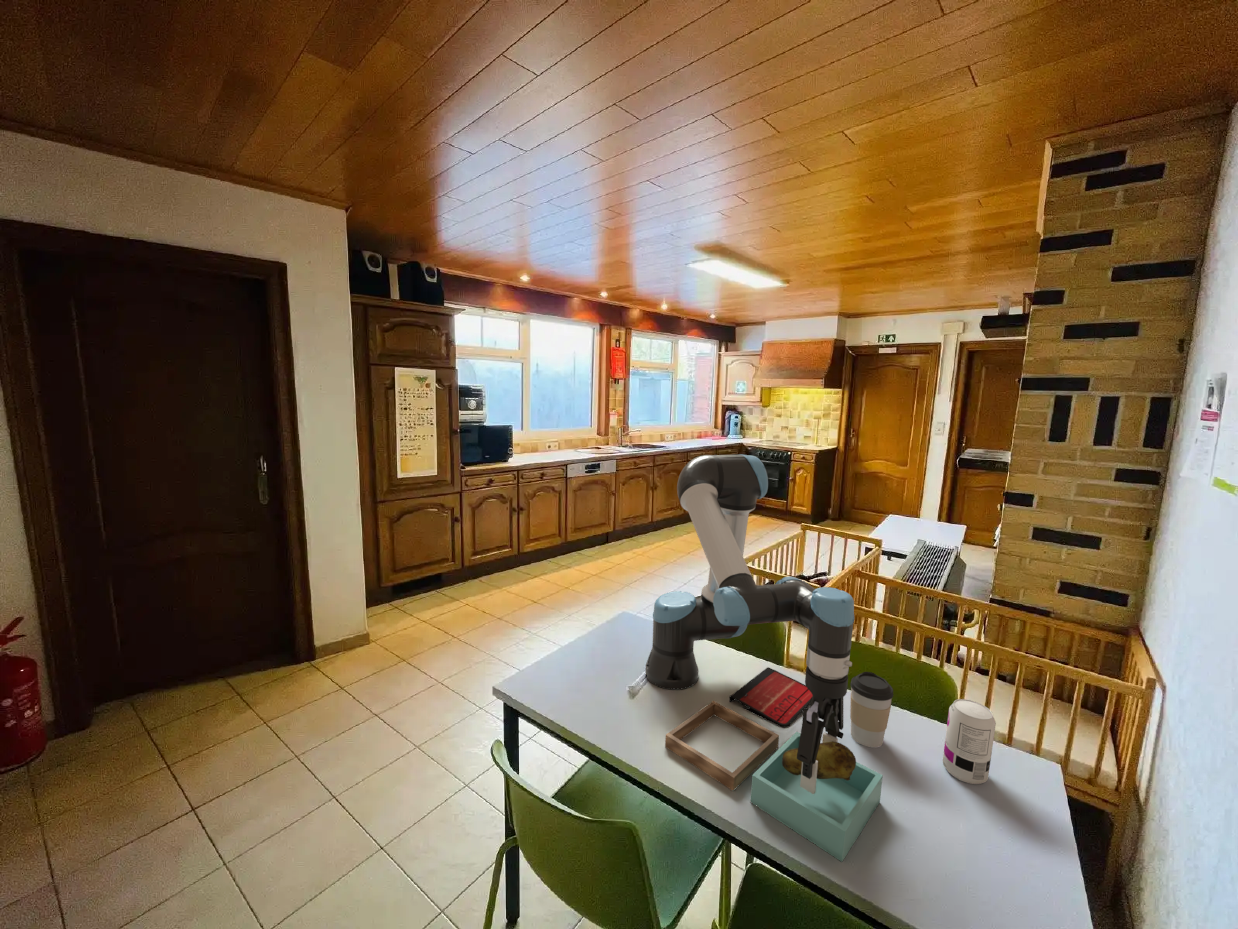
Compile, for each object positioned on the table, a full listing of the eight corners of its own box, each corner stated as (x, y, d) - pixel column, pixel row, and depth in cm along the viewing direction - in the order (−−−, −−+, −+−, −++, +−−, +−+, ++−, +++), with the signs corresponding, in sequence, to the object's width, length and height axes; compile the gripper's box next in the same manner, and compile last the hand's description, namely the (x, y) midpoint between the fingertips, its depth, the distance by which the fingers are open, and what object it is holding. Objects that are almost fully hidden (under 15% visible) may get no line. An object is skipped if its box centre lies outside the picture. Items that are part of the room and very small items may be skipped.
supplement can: (933, 764, 113) (941, 702, 111) (958, 755, 117) (966, 694, 114) (971, 791, 106) (980, 724, 104) (996, 780, 109) (1005, 715, 107)
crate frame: (665, 746, 117) (665, 734, 116) (713, 711, 130) (713, 700, 130) (733, 791, 104) (733, 777, 104) (778, 747, 118) (779, 735, 117)
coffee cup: (893, 754, 116) (900, 693, 114) (850, 747, 118) (856, 687, 116) (881, 728, 125) (887, 671, 123) (842, 723, 127) (847, 666, 125)
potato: (791, 752, 108) (794, 717, 107) (857, 781, 101) (860, 743, 99) (777, 775, 102) (780, 738, 100) (846, 807, 94) (850, 768, 93)
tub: (750, 802, 102) (752, 775, 101) (794, 756, 115) (796, 731, 114) (842, 862, 89) (845, 831, 88) (879, 802, 102) (882, 775, 101)
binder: (729, 695, 134) (767, 665, 150) (728, 703, 135) (766, 673, 150) (786, 725, 124) (821, 690, 139) (785, 734, 124) (820, 698, 139)
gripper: (822, 701, 88) (812, 819, 91) (867, 658, 103) (858, 760, 106) (782, 683, 93) (774, 795, 96) (830, 644, 108) (822, 742, 111)
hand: (818, 777), depth 101 cm, fingers closed on potato, 8 cm apart
